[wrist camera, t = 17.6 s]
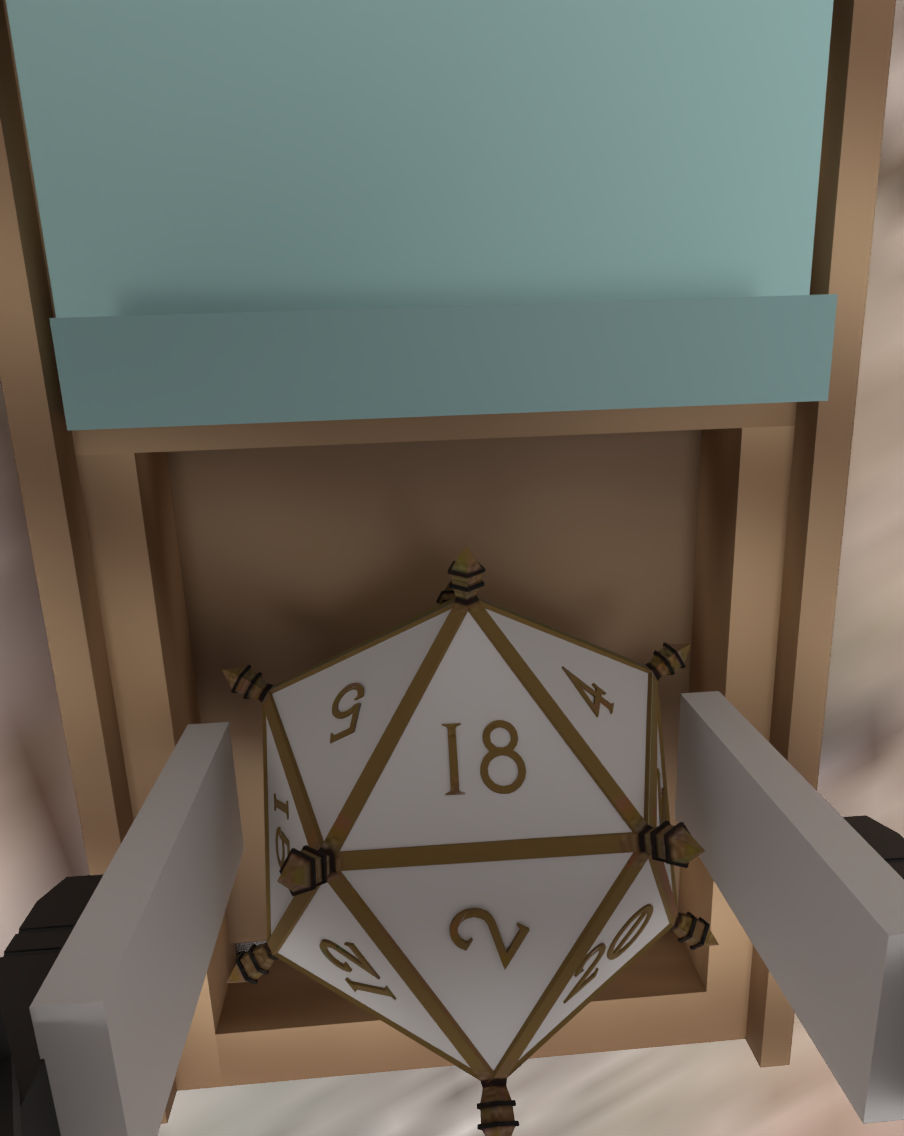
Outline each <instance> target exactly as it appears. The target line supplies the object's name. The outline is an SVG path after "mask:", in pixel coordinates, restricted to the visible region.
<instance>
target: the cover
mask: <svg viewBox="0 0 904 1136" xmlns="http://www.w3.org/2000/svg"><path fill="white" fill-rule="evenodd" d="M833 1H834V0H6V5H7V11H8V18H9V24H10V30H11V37H12V43H13V49H14V55H15V62H16V68H17V74H18V81H19V87H20V93H21V100H22V106H23V112H24V119H25V125H26V131H27V137H28V144H29V150H30V156H31V163H32V169H33V175H34V182H35V188H36V194H37V200H38V207H39V213H40V219H41V226H42V232H43V238H44V245H45V251H46V257H47V263H48V270H49V276H50V282H51V289H52V295H53V301H54V308H55V314H56V318H49V319H50V326H51V332H52V338H53V344H54V350H55V357H56V363H57V369H58V375H59V382H60V388H61V394H62V400H63V406H64V413H65V419H66V425H67V431H70V430H96V429H121V428H147V427H172V426H197V425H223V424H248V423H274V422H299V421H325V420H350V419H376V418H401V417H427V416H452V415H477V414H503V413H528V412H554V411H579V410H605V409H630V408H656V407H681V406H707V405H732V404H758V403H783V402H808V401H828V395H829V384H830V373H831V362H832V351H833V340H834V329H835V318H836V307H837V296H838V294H823V295H809V294H810V281H811V269H812V257H813V245H814V233H815V220H816V208H817V196H818V184H819V172H820V159H821V147H822V135H823V123H824V111H825V98H826V86H827V74H828V62H829V50H830V37H831V25H832V13H833Z"/></svg>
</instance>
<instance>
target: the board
mask: <svg viewBox="0 0 904 1136" xmlns="http://www.w3.org/2000/svg"><path fill="white" fill-rule="evenodd" d="M895 6H896V0H834V1H833V13H832V25H831V37H830V50H829V62H828V74H827V86H826V98H825V111H824V123H823V135H822V147H821V159H820V172H819V184H818V196H817V208H816V220H815V233H814V245H813V257H812V269H811V281H810V294H809V295H823V294H838V296H837V307H836V318H835V329H834V340H833V351H832V362H831V373H830V384H829V395H828V401H808V402H783V403H758V404H732V405H707V406H681V407H656V408H630V409H605V410H579V411H554V412H528V413H503V414H477V415H452V416H427V417H401V418H376V419H350V420H325V421H299V422H274V423H248V424H223V425H197V426H172V427H147V428H121V429H96V430H70V431H67V425H66V419H65V413H64V406H63V400H62V394H61V388H60V382H59V375H58V369H57V363H56V357H55V350H54V344H53V338H52V332H51V326H50V319H49V318H56V314H55V308H54V301H53V295H52V289H51V282H50V276H49V270H48V263H47V257H46V251H45V245H44V238H43V232H42V226H41V219H40V213H39V207H38V200H37V194H36V188H35V182H34V175H33V169H32V163H31V156H30V150H29V144H28V137H27V131H26V125H25V119H24V112H23V106H22V100H21V93H20V87H19V81H18V74H17V68H16V62H15V55H14V49H13V43H12V37H11V30H10V24H9V18H8V11H7V5H6V0H0V378H1V384H2V389H3V395H4V401H5V406H6V412H7V417H8V423H9V428H10V434H11V439H12V445H13V451H14V456H15V462H16V467H17V473H18V478H19V484H20V489H21V495H22V501H23V506H24V512H25V517H26V523H27V528H28V534H29V539H30V545H31V551H32V556H33V562H34V567H35V573H36V578H37V584H38V589H39V595H40V601H41V606H42V612H43V617H44V623H45V628H46V634H47V639H48V645H49V651H50V656H51V662H52V667H53V673H54V678H55V684H56V689H57V695H58V701H59V706H60V712H61V717H62V723H63V728H64V734H65V739H66V745H67V751H68V756H69V762H70V767H71V773H72V778H73V784H74V789H75V795H76V801H77V806H78V812H79V817H80V823H81V828H82V834H83V839H84V845H85V851H86V856H87V862H88V867H89V873H90V875H101V874H104V873H105V871H106V870H107V868H108V866H109V864H110V863H111V861H112V859H113V857H114V855H115V854H116V852H117V850H118V848H119V846H120V845H121V843H122V841H123V839H124V838H125V836H126V834H127V832H128V830H129V829H130V827H131V825H132V823H133V821H134V820H135V818H136V816H137V814H138V813H139V811H140V809H141V807H142V805H143V804H144V802H145V800H146V798H147V796H148V795H149V793H150V791H151V789H152V788H153V786H154V784H155V782H156V780H157V779H158V777H159V775H160V773H161V771H162V770H163V768H164V766H165V764H166V763H167V761H168V759H169V757H170V755H171V754H172V752H173V750H174V748H175V746H176V745H177V743H178V741H179V739H180V738H181V736H182V734H183V732H184V730H185V729H186V727H187V725H188V724H203V723H219V722H229V726H230V734H231V742H232V751H233V759H234V768H235V776H236V784H237V793H238V801H239V810H240V818H241V826H242V835H243V843H244V851H243V854H242V857H241V861H240V864H239V867H238V871H237V874H236V877H235V881H234V884H233V887H232V890H231V894H230V897H229V900H228V904H227V907H226V910H225V914H224V917H223V920H222V924H221V927H220V930H219V933H218V937H217V940H216V943H215V947H214V950H213V953H212V957H211V960H210V963H209V966H208V970H207V973H206V976H205V980H204V983H203V986H202V990H201V993H200V996H199V999H198V1003H197V1006H196V1009H195V1013H194V1016H193V1019H192V1023H191V1026H190V1029H189V1032H188V1036H187V1039H186V1042H185V1046H184V1049H183V1052H182V1056H181V1059H180V1062H179V1065H178V1069H177V1072H176V1075H175V1079H174V1082H173V1085H172V1089H171V1092H170V1095H169V1098H168V1102H167V1105H166V1108H165V1112H164V1115H163V1118H162V1122H161V1124H164V1123H167V1122H168V1119H169V1115H170V1112H171V1109H172V1105H173V1102H174V1098H175V1095H176V1092H177V1091H178V1090H189V1089H200V1088H211V1087H222V1086H233V1085H244V1084H255V1083H266V1082H277V1081H288V1080H299V1079H310V1078H321V1077H332V1076H343V1075H353V1074H364V1073H375V1072H386V1071H397V1070H408V1069H419V1068H430V1067H441V1066H452V1065H454V1064H452V1063H450V1062H449V1061H447V1060H445V1059H444V1058H442V1057H440V1056H439V1055H437V1054H435V1053H434V1052H432V1051H431V1050H429V1049H427V1048H426V1047H424V1046H422V1045H421V1044H419V1043H417V1042H416V1041H414V1040H412V1039H411V1038H409V1037H407V1036H406V1035H404V1034H402V1033H401V1032H399V1031H397V1030H396V1029H394V1028H393V1027H391V1026H389V1025H388V1024H386V1023H384V1022H383V1021H381V1020H379V1019H378V1018H376V1017H374V1016H373V1015H371V1014H369V1013H368V1012H366V1011H364V1010H363V1009H361V1008H359V1007H358V1006H356V1005H355V1004H353V1003H351V1002H350V1001H348V1000H346V999H345V998H343V997H341V996H340V995H338V994H336V993H335V992H333V991H331V990H330V989H328V988H326V987H325V986H323V985H321V984H320V983H318V982H317V981H315V980H313V979H312V978H310V977H308V976H307V975H305V974H303V973H302V972H300V971H298V970H297V969H295V968H293V967H292V966H290V965H288V964H287V963H285V962H283V961H282V960H280V959H278V960H276V961H274V962H273V964H272V965H271V967H270V968H269V974H267V975H265V974H263V975H261V976H260V977H259V978H258V979H257V980H258V983H257V984H253V983H250V982H240V983H227V981H228V979H229V977H230V975H231V973H232V971H233V969H234V968H235V966H236V964H237V963H236V961H235V960H236V959H237V957H238V955H239V954H236V946H235V943H245V942H257V941H267V919H266V872H265V824H264V777H263V730H262V702H260V701H259V700H258V699H253V698H250V699H244V698H243V696H244V695H242V694H240V693H232V692H231V690H232V688H231V686H230V684H229V682H228V681H227V679H226V677H225V675H224V673H223V671H222V669H230V668H244V667H247V666H248V665H250V666H251V670H253V671H254V672H256V673H259V672H261V673H262V677H263V678H264V680H265V681H266V682H267V683H268V684H272V685H274V684H276V683H278V682H280V681H283V680H285V679H287V678H289V677H291V676H293V675H295V674H297V673H299V672H301V671H303V670H305V669H307V668H309V667H312V666H314V665H316V664H318V663H320V662H322V661H324V660H326V659H328V658H330V657H332V656H334V655H336V654H338V653H341V652H343V651H345V650H347V649H349V648H351V647H353V646H355V645H357V644H359V643H361V642H363V641H365V640H367V639H370V638H372V637H374V636H376V635H378V634H380V633H382V632H384V631H386V630H388V629H390V628H392V627H394V626H396V625H399V624H401V623H403V622H405V621H407V620H409V619H411V618H413V617H415V616H417V615H419V614H421V613H423V612H425V611H428V610H430V609H432V608H434V607H436V606H438V605H439V603H437V601H436V600H437V598H438V597H439V595H440V593H441V591H444V590H445V588H446V587H447V585H448V583H450V581H451V574H448V569H449V567H450V565H451V564H452V562H453V561H456V560H457V558H458V556H459V555H460V553H461V551H462V549H463V548H464V546H465V544H466V545H467V547H468V548H469V550H470V551H471V553H472V554H473V556H474V557H475V559H476V560H477V561H478V562H479V563H480V564H481V565H482V566H483V567H484V568H485V572H483V573H482V578H481V580H482V581H483V582H484V586H483V587H480V590H479V592H478V595H477V596H478V598H481V599H483V600H486V601H488V602H491V603H493V604H496V605H498V606H501V607H503V608H506V609H508V610H511V611H513V612H516V613H518V614H521V615H523V616H526V617H528V618H531V619H533V620H536V621H538V622H541V623H543V624H545V625H548V626H550V627H553V628H555V629H558V630H560V631H563V632H565V633H568V634H570V635H573V636H575V637H578V638H580V639H583V640H585V641H588V642H590V643H593V644H595V645H598V646H600V647H603V648H605V649H608V650H610V651H613V652H615V653H617V654H620V655H622V656H625V657H627V658H630V659H632V660H635V661H637V662H640V663H642V664H647V663H649V662H650V660H651V659H652V658H653V656H654V654H653V652H654V651H655V650H656V651H657V652H658V651H659V650H661V649H662V648H663V643H667V644H668V645H672V644H691V645H690V648H689V651H688V654H687V657H686V660H685V663H684V664H685V666H686V667H685V668H678V669H677V670H675V671H674V672H675V674H674V675H665V676H662V677H660V679H659V680H658V688H659V699H660V711H661V722H662V734H663V745H664V757H665V768H666V780H667V791H668V802H669V814H670V824H671V825H674V826H675V825H677V824H678V822H677V820H676V819H675V802H676V780H677V759H678V738H679V717H680V696H681V693H696V692H712V691H719V692H720V693H721V694H722V695H723V696H724V697H725V698H726V699H727V700H728V701H729V702H730V703H731V704H732V705H733V706H734V707H735V708H736V709H737V710H738V711H739V712H740V713H741V714H742V715H743V716H744V717H745V718H746V719H747V720H748V721H749V722H750V723H751V724H752V725H753V726H754V728H755V729H756V730H757V731H758V732H759V733H760V734H761V735H762V736H763V737H764V738H765V739H766V740H767V741H768V742H769V743H770V744H771V745H772V746H773V747H774V748H775V749H776V750H777V751H778V752H779V753H780V754H781V755H782V756H783V757H784V758H785V759H786V760H787V761H788V762H789V763H790V764H791V765H792V766H793V767H794V768H795V769H796V770H797V771H798V772H799V773H800V774H801V775H802V776H803V777H804V778H805V779H806V780H807V782H808V783H809V784H810V785H811V786H812V787H813V788H814V789H815V790H816V791H817V784H818V774H819V764H820V754H821V745H822V735H823V725H824V715H825V705H826V695H827V685H828V675H829V665H830V655H831V645H832V635H833V625H834V615H835V605H836V595H837V585H838V575H839V565H840V555H841V545H842V535H843V525H844V515H845V505H846V495H847V485H848V475H849V465H850V455H851V445H852V435H853V425H854V415H855V405H856V395H857V385H858V375H859V365H860V355H861V345H862V335H863V325H864V315H865V305H866V295H867V285H868V275H869V265H870V255H871V245H872V235H873V225H874V215H875V206H876V196H877V186H878V176H879V166H880V156H881V146H882V136H883V126H884V116H885V106H886V96H887V86H888V76H889V66H890V56H891V46H892V36H893V26H894V16H895ZM674 871H675V883H676V894H677V905H678V912H680V913H685V914H686V913H687V912H690V913H692V914H693V915H694V916H695V917H696V918H698V919H699V917H701V918H703V919H704V920H705V921H706V922H707V923H709V924H710V926H709V929H710V930H711V932H712V934H713V935H714V937H715V939H716V940H717V942H718V944H719V945H714V946H704V947H699V948H697V949H695V950H691V949H690V945H689V944H687V943H686V942H682V943H680V942H679V941H678V936H677V935H676V934H675V933H674V932H673V931H672V930H669V931H668V932H667V933H665V934H664V935H663V936H662V937H661V938H660V939H659V940H658V941H657V942H656V943H654V944H653V945H652V946H651V947H650V948H649V949H648V950H647V951H646V952H645V953H643V954H642V955H641V956H640V957H639V958H638V959H637V960H636V961H635V962H634V963H633V964H631V965H630V966H629V967H628V968H627V969H626V970H625V971H624V972H623V973H622V974H620V975H619V976H618V977H617V978H616V979H615V980H614V981H613V982H612V983H611V984H609V985H608V986H607V987H606V988H605V989H604V990H603V991H602V992H601V993H600V994H599V995H597V996H596V997H595V998H594V999H593V1000H592V1001H591V1002H590V1003H589V1004H588V1005H586V1006H585V1007H584V1008H583V1009H582V1010H581V1011H580V1012H579V1013H578V1014H577V1015H576V1016H574V1017H573V1018H572V1019H571V1020H570V1021H569V1022H568V1023H567V1024H566V1025H565V1026H563V1027H562V1028H561V1029H560V1030H559V1031H558V1032H557V1033H556V1034H555V1035H554V1036H552V1037H551V1038H550V1039H549V1040H548V1041H547V1042H546V1043H545V1044H544V1045H543V1046H542V1047H540V1048H539V1049H538V1050H537V1051H536V1052H535V1053H534V1054H533V1055H532V1056H531V1057H529V1058H539V1057H550V1056H561V1055H572V1054H583V1053H594V1052H605V1051H616V1050H627V1049H638V1048H649V1047H660V1046H671V1045H682V1044H693V1043H704V1042H714V1041H725V1040H736V1039H746V1041H747V1043H748V1045H749V1047H750V1048H751V1050H752V1052H753V1054H754V1056H755V1058H756V1060H757V1062H758V1064H759V1066H760V1067H771V1066H781V1065H789V1064H790V1054H791V1044H792V1034H793V1024H794V1014H795V1012H794V1010H793V1009H792V1007H791V1005H790V1004H789V1002H788V1000H787V999H786V997H785V996H784V994H783V992H782V991H781V989H780V987H779V986H778V984H777V983H776V981H775V979H774V978H773V976H772V974H771V973H770V971H769V970H768V968H767V966H766V965H765V963H764V961H763V960H762V958H761V957H760V955H759V953H758V952H757V950H756V948H755V947H754V945H753V944H752V942H751V940H750V939H749V937H748V936H747V934H746V932H745V931H744V929H743V927H742V926H741V924H740V923H739V921H738V919H737V918H736V916H735V914H734V913H733V911H732V910H731V908H730V906H729V905H728V903H727V901H726V900H725V898H724V897H723V895H722V893H721V892H720V890H719V888H718V887H717V885H716V884H715V882H714V880H713V879H712V877H711V875H710V874H709V872H708V871H707V869H706V867H705V866H704V864H703V862H702V861H701V859H700V858H699V856H698V857H696V858H695V859H693V860H692V861H690V862H689V865H688V868H684V867H679V866H675V865H674ZM244 954H245V953H244Z"/></svg>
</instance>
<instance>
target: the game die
mask: <svg viewBox="0 0 904 1136" xmlns="http://www.w3.org/2000/svg"><path fill="white" fill-rule="evenodd" d="M483 572H485V568H484V567H483V566H482V565H481V564H480V563H479V562H478V561H477V560H476V559H475V557H474V556H473V554H472V553H471V551H470V550H469V548H468V547H467V545H466V544H465V546H464V548H463V549H462V551H461V553H460V555H459V556H458V558H457V560H456V561H453V562H452V564H451V565H450V567H449V569H448V574H451V581H450V583H448V585H447V587H446V588H445V590H444V591H441V593H440V595H439V597H438V598H437V600H436V601H437V603H439V605H438V606H436V607H434V608H432V609H430V610H428V611H425V612H423V613H421V614H419V615H417V616H415V617H413V618H411V619H409V620H407V621H405V622H403V623H401V624H399V625H396V626H394V627H392V628H390V629H388V630H386V631H384V632H382V633H380V634H378V635H376V636H374V637H372V638H370V639H367V640H365V641H363V642H361V643H359V644H357V645H355V646H353V647H351V648H349V649H347V650H345V651H343V652H341V653H338V654H336V655H334V656H332V657H330V658H328V659H326V660H324V661H322V662H320V663H318V664H316V665H314V666H312V667H309V668H307V669H305V670H303V671H301V672H299V673H297V674H295V675H293V676H291V677H289V678H287V679H285V680H283V681H280V682H278V683H276V684H274V685H272V684H268V683H267V682H266V681H265V680H264V678H263V677H262V673H261V672H259V673H256V672H254V671H253V670H251V666H250V665H248V666H247V667H244V668H230V669H222V671H223V673H224V675H225V677H226V679H227V681H228V682H229V684H230V686H231V688H232V690H231V692H232V693H240V694H242V695H244V696H243V698H244V699H250V698H253V699H258V700H259V701H260V702H262V730H263V777H264V824H265V872H266V919H267V942H266V943H264V944H261V945H258V946H256V945H255V944H253V945H252V946H251V948H250V949H249V951H248V952H246V953H245V954H244V953H243V951H242V952H241V953H240V954H239V955H238V957H237V959H236V960H235V961H236V963H237V964H236V966H235V968H234V969H233V971H232V973H231V975H230V977H229V979H228V981H227V983H240V982H250V983H253V984H257V983H258V980H257V979H258V978H259V977H260V976H261V975H263V974H265V975H267V974H269V968H270V967H271V965H272V964H273V962H274V961H276V960H278V959H280V960H282V961H283V962H285V963H287V964H288V965H290V966H292V967H293V968H295V969H297V970H298V971H300V972H302V973H303V974H305V975H307V976H308V977H310V978H312V979H313V980H315V981H317V982H318V983H320V984H321V985H323V986H325V987H326V988H328V989H330V990H331V991H333V992H335V993H336V994H338V995H340V996H341V997H343V998H345V999H346V1000H348V1001H350V1002H351V1003H353V1004H355V1005H356V1006H358V1007H359V1008H361V1009H363V1010H364V1011H366V1012H368V1013H369V1014H371V1015H373V1016H374V1017H376V1018H378V1019H379V1020H381V1021H383V1022H384V1023H386V1024H388V1025H389V1026H391V1027H393V1028H394V1029H396V1030H397V1031H399V1032H401V1033H402V1034H404V1035H406V1036H407V1037H409V1038H411V1039H412V1040H414V1041H416V1042H417V1043H419V1044H421V1045H422V1046H424V1047H426V1048H427V1049H429V1050H431V1051H432V1052H434V1053H435V1054H437V1055H439V1056H440V1057H442V1058H444V1059H445V1060H447V1061H449V1062H450V1063H452V1064H454V1065H455V1066H457V1067H459V1068H460V1069H462V1070H464V1071H465V1072H467V1073H469V1074H470V1075H472V1076H473V1077H475V1078H477V1079H478V1080H480V1081H481V1084H482V1087H483V1091H482V1097H481V1103H479V1104H477V1109H480V1110H481V1124H478V1129H479V1130H482V1131H483V1132H484V1134H485V1136H512V1133H513V1130H514V1128H515V1126H519V1122H518V1121H515V1120H514V1113H513V1106H515V1105H516V1103H515V1100H511V1098H510V1095H509V1092H508V1090H507V1087H506V1081H507V1078H508V1077H509V1076H510V1075H511V1074H512V1073H513V1072H514V1071H515V1070H516V1069H517V1068H518V1067H520V1066H521V1065H522V1064H523V1063H524V1062H525V1061H526V1060H527V1059H528V1058H529V1057H531V1056H532V1055H533V1054H534V1053H535V1052H536V1051H537V1050H538V1049H539V1048H540V1047H542V1046H543V1045H544V1044H545V1043H546V1042H547V1041H548V1040H549V1039H550V1038H551V1037H552V1036H554V1035H555V1034H556V1033H557V1032H558V1031H559V1030H560V1029H561V1028H562V1027H563V1026H565V1025H566V1024H567V1023H568V1022H569V1021H570V1020H571V1019H572V1018H573V1017H574V1016H576V1015H577V1014H578V1013H579V1012H580V1011H581V1010H582V1009H583V1008H584V1007H585V1006H586V1005H588V1004H589V1003H590V1002H591V1001H592V1000H593V999H594V998H595V997H596V996H597V995H599V994H600V993H601V992H602V991H603V990H604V989H605V988H606V987H607V986H608V985H609V984H611V983H612V982H613V981H614V980H615V979H616V978H617V977H618V976H619V975H620V974H622V973H623V972H624V971H625V970H626V969H627V968H628V967H629V966H630V965H631V964H633V963H634V962H635V961H636V960H637V959H638V958H639V957H640V956H641V955H642V954H643V953H645V952H646V951H647V950H648V949H649V948H650V947H651V946H652V945H653V944H654V943H656V942H657V941H658V940H659V939H660V938H661V937H662V936H663V935H664V934H665V933H667V932H668V931H669V930H672V931H673V932H674V933H675V934H676V935H677V936H678V941H679V942H680V943H682V942H686V943H687V944H689V945H690V949H691V950H695V949H697V948H699V947H704V946H714V945H719V944H718V942H717V940H716V939H715V937H714V935H713V934H712V932H711V930H710V929H709V926H710V924H709V923H707V922H706V921H705V920H704V919H703V918H701V917H699V919H698V918H696V917H695V916H694V915H693V914H692V913H690V912H687V913H686V914H685V913H680V912H678V905H677V894H676V883H675V871H674V865H675V866H679V867H684V868H688V865H689V862H690V861H692V860H693V859H695V858H696V857H698V856H699V855H700V854H702V853H703V852H705V850H704V849H703V848H702V847H701V846H700V845H699V844H698V842H697V841H696V840H695V839H694V838H693V837H692V835H691V834H690V832H689V831H688V829H687V827H686V826H685V824H684V822H679V823H678V824H677V825H675V826H674V825H671V824H670V814H669V802H668V791H667V780H666V768H665V757H664V745H663V734H662V722H661V711H660V699H659V688H658V680H659V679H660V677H662V676H665V675H674V674H675V672H674V671H675V670H677V669H678V668H685V667H686V666H685V664H684V663H685V660H686V657H687V654H688V651H689V648H690V645H691V644H672V645H668V644H667V643H663V648H662V649H661V650H659V651H658V652H657V651H656V650H655V651H654V652H653V654H654V656H653V658H652V659H651V660H650V662H649V663H647V664H642V663H640V662H637V661H635V660H632V659H630V658H627V657H625V656H622V655H620V654H617V653H615V652H613V651H610V650H608V649H605V648H603V647H600V646H598V645H595V644H593V643H590V642H588V641H585V640H583V639H580V638H578V637H575V636H573V635H570V634H568V633H565V632H563V631H560V630H558V629H555V628H553V627H550V626H548V625H545V624H543V623H541V622H538V621H536V620H533V619H531V618H528V617H526V616H523V615H521V614H518V613H516V612H513V611H511V610H508V609H506V608H503V607H501V606H498V605H496V604H493V603H491V602H488V601H486V600H483V599H481V598H478V596H477V595H478V592H479V590H480V587H483V586H484V582H483V581H482V580H481V578H482V573H483Z"/></svg>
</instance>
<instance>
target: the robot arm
mask: <svg viewBox="0 0 904 1136" xmlns="http://www.w3.org/2000/svg"><path fill="white" fill-rule="evenodd" d="M675 819H676V820H677V822H678V823H679V822H684V824H685V826H686V827H687V829H688V831H689V832H690V834H691V835H692V837H693V838H694V839H695V840H696V841H697V842H698V844H699V845H700V846H701V847H702V848H703V849H704V850H705V852H703V853H702V854H700V855H699V858H700V859H701V861H702V862H703V864H704V866H705V867H706V869H707V871H708V872H709V874H710V875H711V877H712V879H713V880H714V882H715V884H716V885H717V887H718V888H719V890H720V892H721V893H722V895H723V897H724V898H725V900H726V901H727V903H728V905H729V906H730V908H731V910H732V911H733V913H734V914H735V916H736V918H737V919H738V921H739V923H740V924H741V926H742V927H743V929H744V931H745V932H746V934H747V936H748V937H749V939H750V940H751V942H752V944H753V945H754V947H755V948H756V950H757V952H758V953H759V955H760V957H761V958H762V960H763V961H764V963H765V965H766V966H767V968H768V970H769V971H770V973H771V974H772V976H773V978H774V979H775V981H776V983H777V984H778V986H779V987H780V989H781V991H782V992H783V994H784V996H785V997H786V999H787V1000H788V1002H789V1004H790V1005H791V1007H792V1009H793V1010H794V1012H795V1013H796V1015H797V1017H798V1018H799V1020H800V1022H801V1023H802V1025H803V1026H804V1028H805V1030H806V1031H807V1033H808V1035H809V1036H810V1038H811V1039H812V1041H813V1043H814V1044H815V1046H816V1048H817V1049H818V1051H819V1052H820V1054H821V1056H822V1057H823V1059H824V1061H825V1062H826V1064H827V1065H828V1067H829V1069H830V1070H831V1072H832V1074H833V1075H834V1077H835V1078H836V1080H837V1082H838V1083H839V1085H840V1087H841V1088H842V1090H843V1091H844V1093H845V1095H846V1096H847V1098H848V1100H849V1101H850V1103H851V1104H852V1106H853V1108H854V1109H855V1111H856V1113H857V1114H858V1116H859V1117H860V1119H861V1121H862V1122H863V1124H865V1123H875V1122H885V1121H895V1120H904V838H903V837H902V836H901V835H900V834H898V833H897V832H895V831H893V830H891V829H889V828H888V827H886V826H884V825H882V824H880V823H879V822H877V821H875V820H873V819H871V818H870V817H868V816H853V817H842V816H841V815H840V814H839V813H838V812H837V811H836V810H835V809H834V808H833V807H832V806H831V805H830V804H829V803H828V802H827V801H826V800H825V799H824V798H823V797H822V796H821V795H820V794H819V793H818V792H817V791H816V790H815V789H814V788H813V787H812V786H811V785H810V784H809V783H808V782H807V780H806V779H805V778H804V777H803V776H802V775H801V774H800V773H799V772H798V771H797V770H796V769H795V768H794V767H793V766H792V765H791V764H790V763H789V762H788V761H787V760H786V759H785V758H784V757H783V756H782V755H781V754H780V753H779V752H778V751H777V750H776V749H775V748H774V747H773V746H772V745H771V744H770V743H769V742H768V741H767V740H766V739H765V738H764V737H763V736H762V735H761V734H760V733H759V732H758V731H757V730H756V729H755V728H754V726H753V725H752V724H751V723H750V722H749V721H748V720H747V719H746V718H745V717H744V716H743V715H742V714H741V713H740V712H739V711H738V710H737V709H736V708H735V707H734V706H733V705H732V704H731V703H730V702H729V701H728V700H727V699H726V698H725V697H724V696H723V695H722V694H721V693H720V692H719V691H712V692H696V693H681V696H680V717H679V738H678V759H677V780H676V802H675ZM243 851H244V843H243V835H242V826H241V818H240V810H239V801H238V793H237V784H236V776H235V768H234V759H233V751H232V742H231V734H230V726H229V722H219V723H203V724H188V725H187V727H186V729H185V730H184V732H183V734H182V736H181V738H180V739H179V741H178V743H177V745H176V746H175V748H174V750H173V752H172V754H171V755H170V757H169V759H168V761H167V763H166V764H165V766H164V768H163V770H162V771H161V773H160V775H159V777H158V779H157V780H156V782H155V784H154V786H153V788H152V789H151V791H150V793H149V795H148V796H147V798H146V800H145V802H144V804H143V805H142V807H141V809H140V811H139V813H138V814H137V816H136V818H135V820H134V821H133V823H132V825H131V827H130V829H129V830H128V832H127V834H126V836H125V838H124V839H123V841H122V843H121V845H120V846H119V848H118V850H117V852H116V854H115V855H114V857H113V859H112V861H111V863H110V864H109V866H108V868H107V870H106V871H105V873H104V874H101V875H88V876H74V877H66V878H65V879H64V880H62V881H61V882H60V883H59V884H58V885H56V886H55V887H54V888H53V889H52V890H50V891H49V892H48V893H47V894H45V895H44V896H43V897H42V898H41V899H39V900H38V901H37V902H36V904H35V905H34V907H33V908H32V910H31V911H30V913H29V914H28V916H27V918H26V919H25V921H24V922H23V924H22V925H21V927H20V928H19V934H15V936H14V937H13V939H12V940H11V942H10V943H9V945H8V947H7V948H6V950H5V951H4V957H0V1136H157V1135H158V1132H159V1128H160V1125H161V1122H162V1118H163V1115H164V1112H165V1108H166V1105H167V1102H168V1098H169V1095H170V1092H171V1089H172V1085H173V1082H174V1079H175V1075H176V1072H177V1069H178V1065H179V1062H180V1059H181V1056H182V1052H183V1049H184V1046H185V1042H186V1039H187V1036H188V1032H189V1029H190V1026H191V1023H192V1019H193V1016H194V1013H195V1009H196V1006H197V1003H198V999H199V996H200V993H201V990H202V986H203V983H204V980H205V976H206V973H207V970H208V966H209V963H210V960H211V957H212V953H213V950H214V947H215V943H216V940H217V937H218V933H219V930H220V927H221V924H222V920H223V917H224V914H225V910H226V907H227V904H228V900H229V897H230V894H231V890H232V887H233V884H234V881H235V877H236V874H237V871H238V867H239V864H240V861H241V857H242V854H243Z"/></svg>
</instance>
